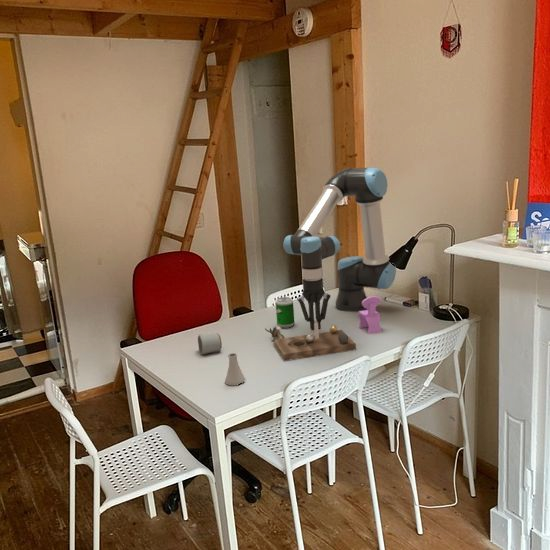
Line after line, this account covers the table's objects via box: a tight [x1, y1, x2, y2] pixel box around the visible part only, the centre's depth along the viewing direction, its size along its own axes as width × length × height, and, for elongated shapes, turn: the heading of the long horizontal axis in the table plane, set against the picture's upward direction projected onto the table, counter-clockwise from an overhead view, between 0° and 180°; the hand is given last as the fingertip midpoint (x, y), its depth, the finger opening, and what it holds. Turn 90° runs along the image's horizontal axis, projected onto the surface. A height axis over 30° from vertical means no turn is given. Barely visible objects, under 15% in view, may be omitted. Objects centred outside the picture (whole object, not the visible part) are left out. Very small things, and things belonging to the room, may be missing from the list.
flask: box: [224, 352, 246, 386], centre depth 196 cm, size 7×7×10 cm
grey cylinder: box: [197, 332, 223, 355], centre depth 226 cm, size 11×8×8 cm
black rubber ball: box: [338, 332, 349, 343], centre depth 218 cm, size 4×4×4 cm
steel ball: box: [306, 333, 314, 342], centre depth 221 cm, size 3×3×3 cm
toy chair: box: [358, 295, 383, 335], centre depth 236 cm, size 8×9×15 cm
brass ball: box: [329, 325, 338, 333], centre depth 229 cm, size 3×3×3 cm
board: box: [273, 329, 357, 361], centre depth 222 cm, size 28×16×2 cm, turn 103°
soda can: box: [275, 296, 295, 329], centre depth 248 cm, size 8×8×12 cm
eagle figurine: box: [264, 325, 286, 343], centre depth 232 cm, size 8×7×9 cm
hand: (316, 337), depth 222 cm, fingers closed
